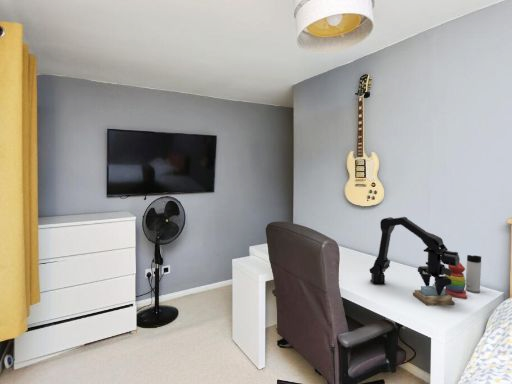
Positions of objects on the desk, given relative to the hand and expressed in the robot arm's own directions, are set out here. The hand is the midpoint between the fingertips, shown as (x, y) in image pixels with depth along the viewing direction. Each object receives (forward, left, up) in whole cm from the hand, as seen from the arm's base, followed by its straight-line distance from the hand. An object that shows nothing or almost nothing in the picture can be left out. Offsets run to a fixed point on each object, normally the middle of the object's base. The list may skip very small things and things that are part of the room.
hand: (433, 291), depth 149 cm
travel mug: (+28, +9, -5) cm, 30 cm away
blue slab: (0, 0, -3) cm, 3 cm away
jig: (0, 0, -4) cm, 4 cm away
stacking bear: (+16, +6, -5) cm, 18 cm away
